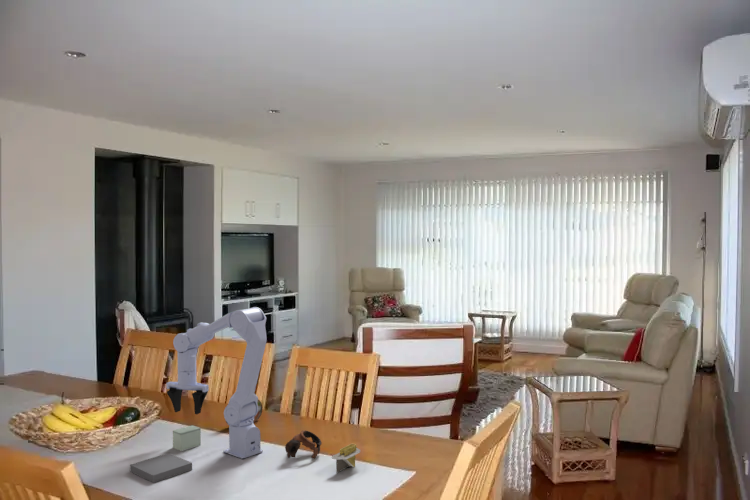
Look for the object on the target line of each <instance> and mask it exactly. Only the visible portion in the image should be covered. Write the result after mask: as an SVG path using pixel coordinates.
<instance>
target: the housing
mask: <svg viewBox="0 0 750 500" xmlns="http://www.w3.org/2000/svg"><path fill="white" fill-rule="evenodd" d="M201 429H202V428H201V427H199V426H196V425H193V424H192V425H188V426H185V427H181V428H177V429H174V430H172V449H175V450H177V451H180V452H183V451H186V450H189V449H192V448H195V447H199V446H201V445H202V444H201V437H202V435H201V433H202V432H201Z"/></svg>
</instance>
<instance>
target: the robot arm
mask: <svg viewBox="0 0 750 500" xmlns="http://www.w3.org/2000/svg"><path fill="white" fill-rule="evenodd" d="M266 322H267V316H266V315H265V313H264V311H263V310H262V309H261V308H259V307H257V306H253V307H250V308H245V309H244V308H243V309H237V310H233V311H231V312H228V313H226V314H224V315H223V316H221V317H220V318H217V319H216V320H214V321H213V322H211V323H208V322H202V321H201V322H198V323H197V324H196V326H195V327H193V328H188V329H186V332H181V333H177V334H176V335H175V336H174V338H173V340H172V342H173V348H174V350H176V351H177V381H168V382H166V385H165V386H166V389H167V391H166V394H167V395H168V398H169V399H170V401H171V403H172V407H173V410H174V413H178V412H180V411H181V409H182V393H183V391H194V392H192V393H191V396H192V400H193V405H194V406H193V407H194V414H195V415H199V414H201V412H202V408H203V404H204V401H205V398H206V397H207V395H208V393H209V384H204V383H200V382H197V353H198V349H199V347H200V346H202V345H203V344H205V343H207V342H209V341H211V340H213V338H214V337H215V334H217V333H218V332H220V331H223V330H225V329H228V328H229V329H230V328H231V329H233V330H234V331H235V332H236V333H237V334H238V336H240V337H241V338H242V339H243V340H245V342H246V345H245V346H246V348H245V350H244V351H245V352H244V354H243V355H244V357H243V361H242V364H241V369H240V372H239V373H240V374H239V377H238V381H237V385H236V390H235V392H234V393H233V394H232V395H231V397H230V398H229V401H228V403H227V405H226V406H225V407H224V410H223V417H224V420H225V423H226V422H227V423H228V424H227V423H226V424H227V425H228V426H229V427H228V433H229V434H228V437H229V438H228V440H229V441H228V442H229V445H228V447H229V448H226V449H223V453H226V454H229V455H231V456H234V457H237V458H239V459H246V458H249V457H252V456H254V455H257V454H261V453H263V450H262V449H261V430H260V428H259V427H257V426H256V425H255V424H254V423H255V422H253V421H254V416H256V414H257V412H258V404H257V401H258V399H259V397H258V395H257V394H256V393H255V391H256V388H257V383H258V380H259V379H258V378H259V375H260V371H261V367H262V366H261V365H262V363H263V359H264V354H265V349H266V345H267V341H268V340H267V338H268V337H267V330H266V324H267V323H266Z"/></svg>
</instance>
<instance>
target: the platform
mask: <svg viewBox="0 0 750 500" xmlns="http://www.w3.org/2000/svg"><path fill="white" fill-rule="evenodd" d="M360 453H361V449H360V448H358V447H357V444H355V443H350V444H348V445H346V446H344V447H341V448H340V449H339V452H338V453H336V454H334V455H332V456H331V459H333V460H336V461H335V462H336V470H335V471H336V473H337V474H338V473H339V472H341V471H343V470H344V469H347V468H348V467H352V468H355V467H356V455H358V454H360Z"/></svg>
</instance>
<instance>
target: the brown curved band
mask: <svg viewBox="0 0 750 500" xmlns="http://www.w3.org/2000/svg"><path fill="white" fill-rule="evenodd" d="M309 438H311V440H309ZM322 443H323V442H322V440H321V438H320V437H319V436H317V434H315V433H314V432H312V431H308V430H301V431H300V432H299V433H298V434H296V435H294V436H293V437H292V439H291V440H289V441H287V443H286V444H285V447H284V448H285V452H286V456H287V458H290V457H291V458H296V455H297V452H298V451H299V449H300V447H301V445H302V446H305V448H309V449H310V450H311V451H313V453H312V455H311V459H313V460H314V459H316V458H317V457H318V455H319V454H320V452H321V445H322Z"/></svg>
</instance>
